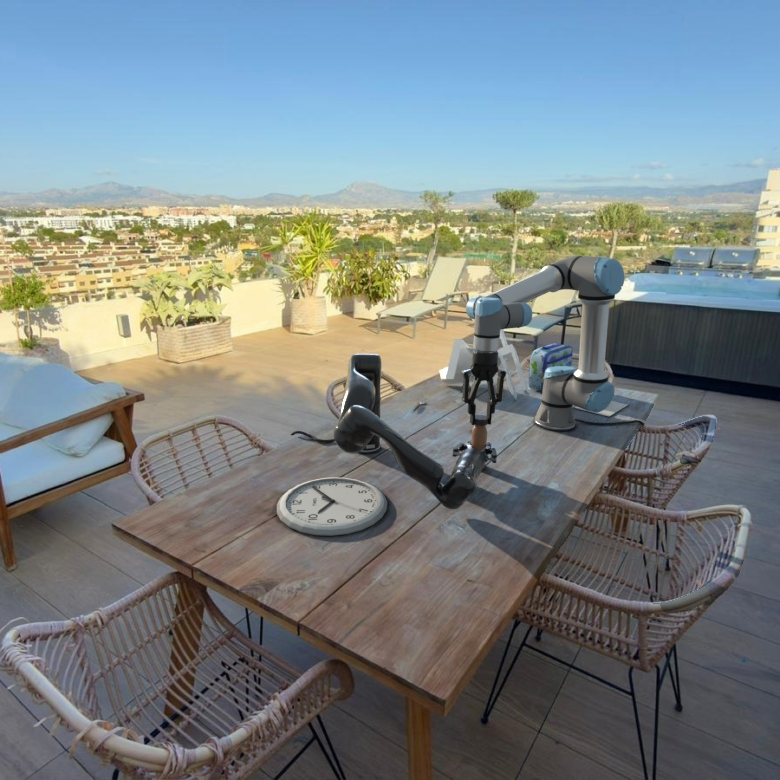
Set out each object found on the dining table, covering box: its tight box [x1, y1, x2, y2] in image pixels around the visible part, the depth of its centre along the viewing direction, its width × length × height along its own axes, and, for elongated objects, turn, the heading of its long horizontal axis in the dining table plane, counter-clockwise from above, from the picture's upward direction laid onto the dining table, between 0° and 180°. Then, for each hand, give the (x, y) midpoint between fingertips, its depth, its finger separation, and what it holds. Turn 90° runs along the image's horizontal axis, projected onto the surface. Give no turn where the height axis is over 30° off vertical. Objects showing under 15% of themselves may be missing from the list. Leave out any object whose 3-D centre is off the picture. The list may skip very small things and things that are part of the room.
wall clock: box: [276, 476, 388, 537], centre depth 142 cm, size 30×2×30 cm
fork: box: [413, 396, 428, 412], centre depth 222 cm, size 3×16×2 cm, turn 160°
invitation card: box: [573, 400, 629, 418], centre depth 226 cm, size 21×1×15 cm
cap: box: [474, 414, 489, 426], centre depth 163 cm, size 5×5×2 cm
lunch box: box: [528, 343, 574, 392], centre depth 249 cm, size 26×11×21 cm, turn 134°
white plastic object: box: [438, 329, 531, 400], centre depth 245 cm, size 37×45×31 cm
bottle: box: [470, 425, 488, 470], centre depth 165 cm, size 5×5×16 cm
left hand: (480, 443), depth 168 cm, fingers closed on bottle, 4 cm apart
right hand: (480, 423), depth 163 cm, fingers closed on cap, 4 cm apart
